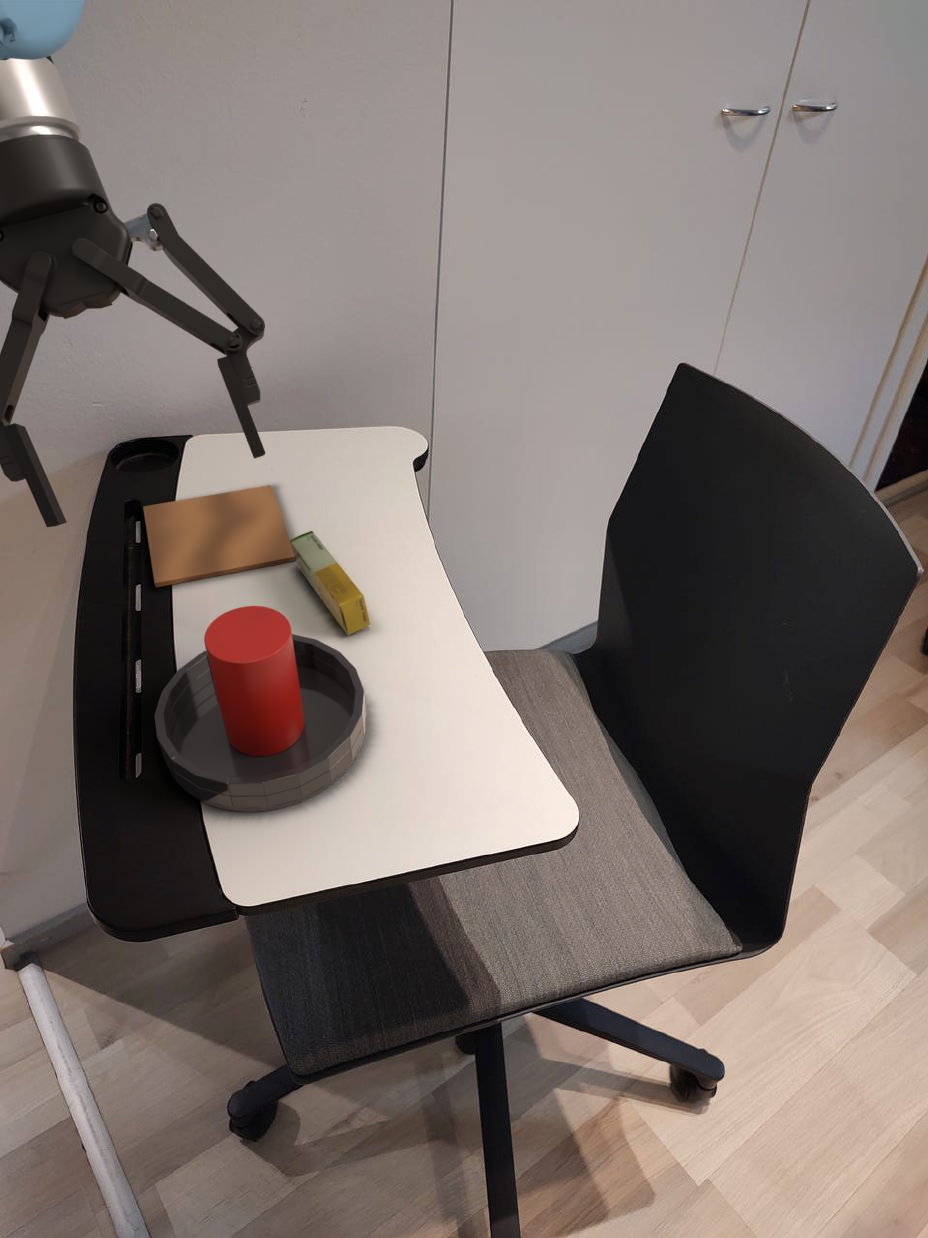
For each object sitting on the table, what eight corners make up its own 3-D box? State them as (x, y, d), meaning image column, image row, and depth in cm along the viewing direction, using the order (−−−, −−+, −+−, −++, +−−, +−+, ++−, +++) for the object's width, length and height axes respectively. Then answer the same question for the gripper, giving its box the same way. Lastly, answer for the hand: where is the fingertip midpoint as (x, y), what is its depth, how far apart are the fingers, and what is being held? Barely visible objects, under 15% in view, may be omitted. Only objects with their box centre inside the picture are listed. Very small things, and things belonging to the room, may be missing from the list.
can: (232, 765, 70) (209, 671, 63) (221, 708, 74) (198, 615, 68) (312, 745, 72) (298, 651, 65) (296, 691, 76) (282, 598, 69)
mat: (155, 587, 87) (154, 583, 87) (144, 510, 97) (142, 506, 96) (296, 560, 91) (295, 556, 90) (271, 489, 101) (270, 484, 100)
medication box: (296, 569, 90) (288, 538, 87) (320, 559, 91) (313, 528, 88) (346, 637, 82) (339, 605, 79) (372, 625, 83) (365, 593, 80)
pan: (175, 836, 65) (166, 808, 63) (155, 686, 77) (147, 657, 75) (388, 780, 70) (387, 751, 68) (339, 645, 81) (336, 616, 79)
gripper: (222, 129, 60) (333, 433, 64) (-164, 232, 55) (-17, 552, 59) (220, 77, 52) (345, 424, 57) (-225, 190, 48) (-52, 558, 52)
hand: (160, 490), depth 58 cm, fingers open, 13 cm apart
